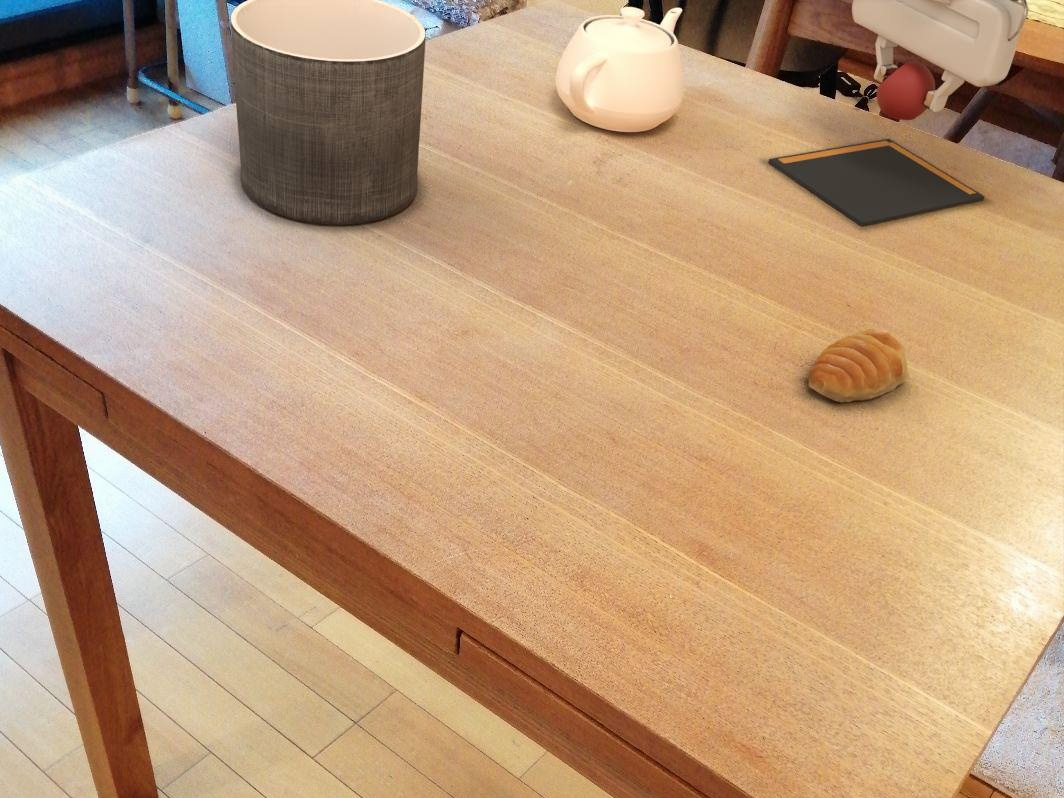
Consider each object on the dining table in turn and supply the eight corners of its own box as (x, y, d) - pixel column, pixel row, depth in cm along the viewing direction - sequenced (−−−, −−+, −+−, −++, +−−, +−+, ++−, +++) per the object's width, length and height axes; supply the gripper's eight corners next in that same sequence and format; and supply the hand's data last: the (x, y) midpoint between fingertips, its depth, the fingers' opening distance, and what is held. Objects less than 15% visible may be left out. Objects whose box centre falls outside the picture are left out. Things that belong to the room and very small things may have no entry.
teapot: (623, 165, 123) (644, 54, 115) (509, 121, 128) (521, 12, 120) (717, 104, 139) (741, 3, 131) (613, 67, 144) (630, -32, 136)
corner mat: (887, 142, 137) (889, 138, 137) (983, 200, 128) (985, 196, 127) (767, 162, 128) (769, 158, 128) (861, 226, 119) (863, 222, 119)
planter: (323, 131, 120) (322, -22, 110) (451, 187, 114) (463, 31, 103) (202, 180, 109) (187, 15, 98) (338, 246, 103) (338, 78, 92)
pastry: (847, 420, 92) (861, 383, 90) (785, 380, 96) (797, 343, 93) (909, 385, 97) (924, 349, 95) (848, 348, 101) (861, 313, 98)
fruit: (892, 141, 121) (948, 92, 115) (861, 100, 121) (916, 48, 115) (915, 128, 125) (971, 79, 119) (885, 88, 125) (940, 37, 119)
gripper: (1055, -7, 107) (996, 130, 116) (906, -72, 119) (864, 57, 128) (1013, -3, 104) (956, 137, 114) (865, -70, 116) (825, 62, 125)
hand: (906, 94), depth 121 cm, fingers closed on fruit, 6 cm apart
